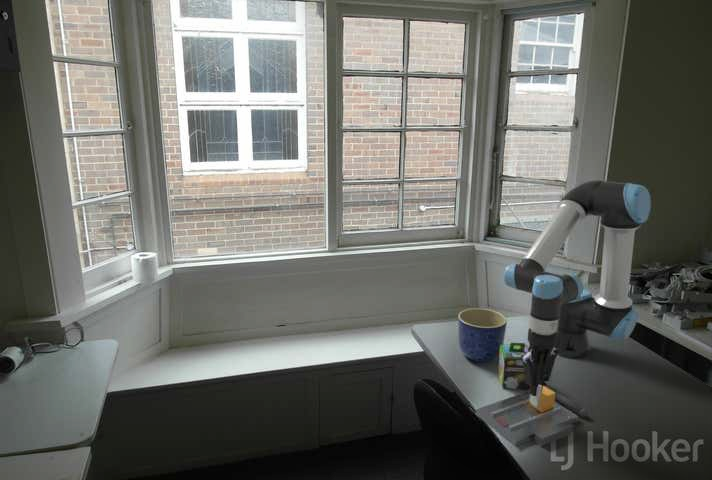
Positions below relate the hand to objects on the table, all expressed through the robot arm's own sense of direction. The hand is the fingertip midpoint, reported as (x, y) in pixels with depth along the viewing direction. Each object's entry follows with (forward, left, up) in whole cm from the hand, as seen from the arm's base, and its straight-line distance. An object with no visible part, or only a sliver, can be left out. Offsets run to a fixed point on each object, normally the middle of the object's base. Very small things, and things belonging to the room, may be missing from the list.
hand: (534, 404), depth 141 cm
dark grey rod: (0, +12, -4) cm, 12 cm away
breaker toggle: (0, +3, -2) cm, 3 cm away
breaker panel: (0, -3, -4) cm, 5 cm away
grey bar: (+10, -3, -4) cm, 11 cm away
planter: (-35, +10, -4) cm, 37 cm away
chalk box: (-16, +8, -4) cm, 18 cm away
